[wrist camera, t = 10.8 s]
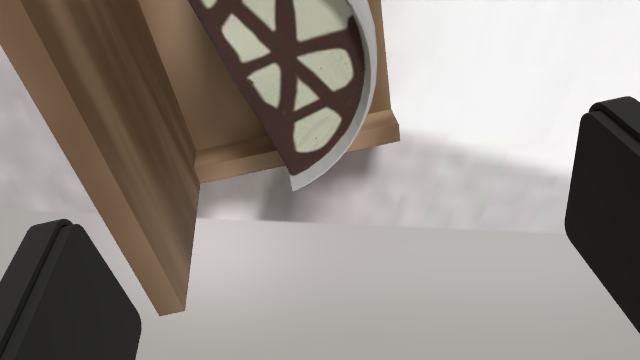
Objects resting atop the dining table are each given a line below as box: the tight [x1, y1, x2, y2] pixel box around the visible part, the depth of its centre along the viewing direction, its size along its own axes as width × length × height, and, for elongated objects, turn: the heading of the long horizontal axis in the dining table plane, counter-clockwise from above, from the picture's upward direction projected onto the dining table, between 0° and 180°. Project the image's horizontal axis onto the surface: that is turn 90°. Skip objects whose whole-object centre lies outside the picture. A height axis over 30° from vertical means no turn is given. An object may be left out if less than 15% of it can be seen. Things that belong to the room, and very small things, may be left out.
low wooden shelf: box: [0, 0, 400, 316], centre depth 23 cm, size 14×20×15 cm
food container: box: [188, 0, 377, 192], centre depth 23 cm, size 12×6×10 cm, turn 24°
